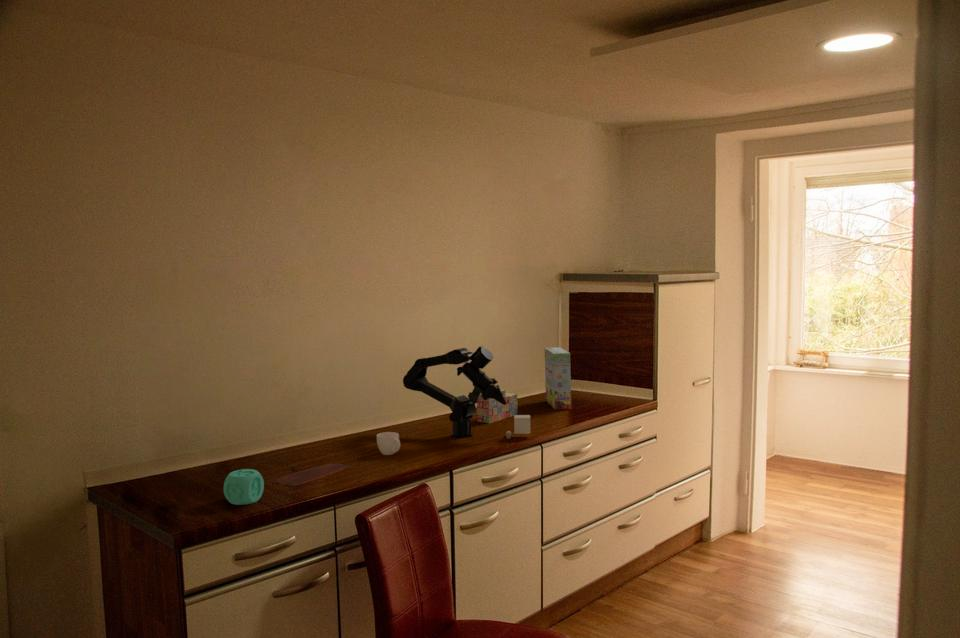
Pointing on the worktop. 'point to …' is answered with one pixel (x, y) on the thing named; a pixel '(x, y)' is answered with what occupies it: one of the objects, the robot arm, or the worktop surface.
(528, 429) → the slab
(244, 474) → the decorative dice
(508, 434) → the roller
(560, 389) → the snack box
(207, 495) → the worktop surface
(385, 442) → the cup
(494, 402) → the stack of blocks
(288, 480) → the wooden tablet
